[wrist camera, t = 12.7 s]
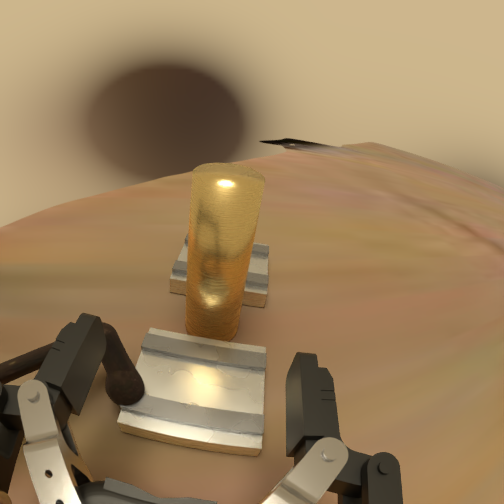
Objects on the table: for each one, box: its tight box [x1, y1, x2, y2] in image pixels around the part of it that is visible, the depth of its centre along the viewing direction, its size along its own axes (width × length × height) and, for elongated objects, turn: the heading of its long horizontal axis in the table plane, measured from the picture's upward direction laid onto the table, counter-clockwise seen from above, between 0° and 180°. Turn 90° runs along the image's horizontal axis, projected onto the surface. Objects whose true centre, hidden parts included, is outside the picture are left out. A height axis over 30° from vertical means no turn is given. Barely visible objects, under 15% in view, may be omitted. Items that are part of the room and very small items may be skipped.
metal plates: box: [117, 234, 269, 457], centre depth 23 cm, size 8×20×2 cm, turn 177°
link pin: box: [185, 163, 265, 342], centre depth 20 cm, size 4×4×12 cm
